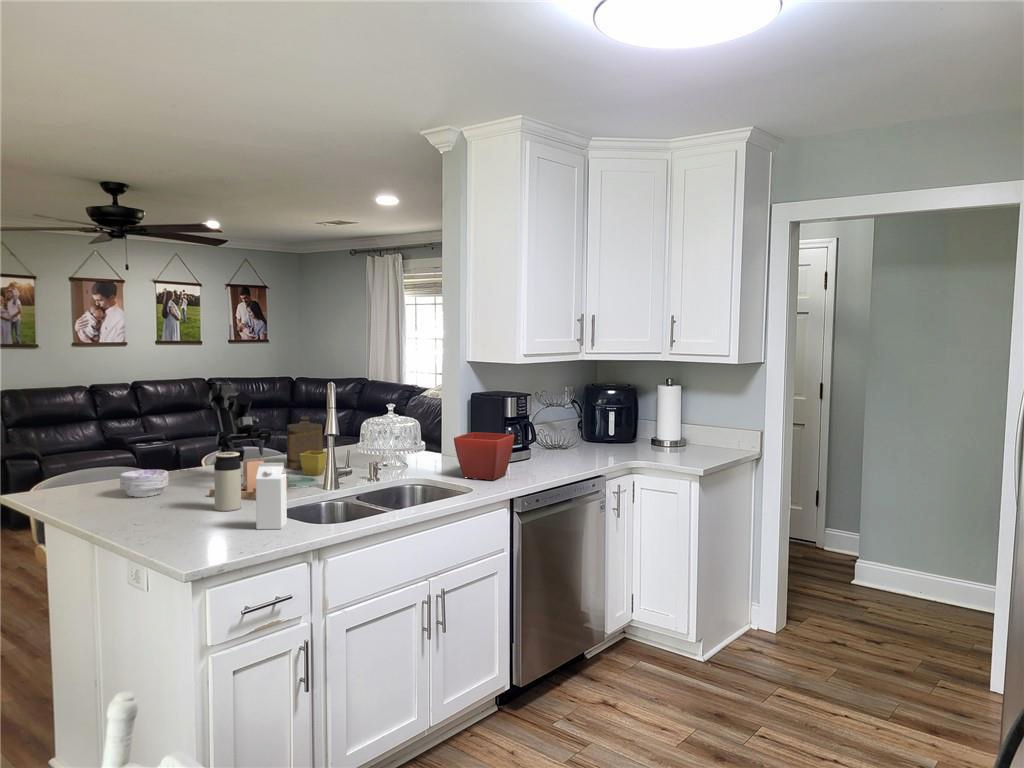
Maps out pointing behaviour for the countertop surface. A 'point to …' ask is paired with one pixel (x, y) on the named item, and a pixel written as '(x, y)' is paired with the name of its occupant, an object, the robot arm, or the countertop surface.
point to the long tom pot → (250, 473)
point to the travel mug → (227, 481)
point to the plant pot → (484, 454)
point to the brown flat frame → (246, 494)
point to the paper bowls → (144, 482)
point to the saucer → (302, 481)
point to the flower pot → (313, 462)
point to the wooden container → (302, 441)
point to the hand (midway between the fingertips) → (248, 455)
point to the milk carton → (271, 496)
